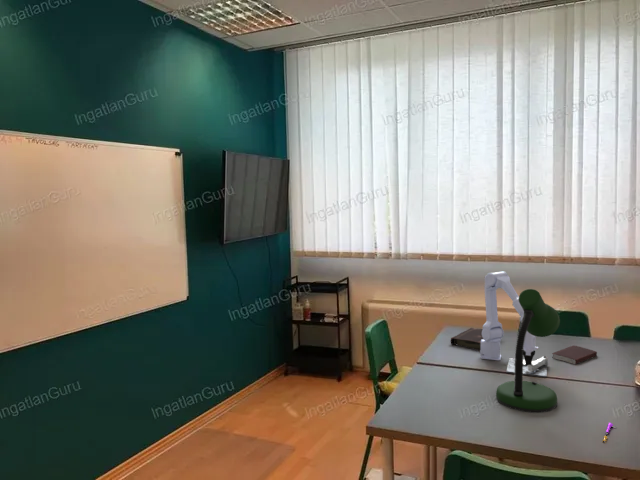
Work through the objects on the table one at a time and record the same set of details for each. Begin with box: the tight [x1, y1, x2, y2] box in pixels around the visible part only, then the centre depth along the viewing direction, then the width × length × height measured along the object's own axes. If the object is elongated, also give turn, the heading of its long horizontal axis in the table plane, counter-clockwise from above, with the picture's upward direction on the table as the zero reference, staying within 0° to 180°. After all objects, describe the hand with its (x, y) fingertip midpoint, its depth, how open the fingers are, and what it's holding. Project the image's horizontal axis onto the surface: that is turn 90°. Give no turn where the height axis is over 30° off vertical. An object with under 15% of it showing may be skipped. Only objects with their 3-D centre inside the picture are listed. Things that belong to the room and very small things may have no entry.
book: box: [552, 344, 598, 365], centre depth 256 cm, size 12×19×3 cm, turn 124°
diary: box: [450, 327, 483, 351], centre depth 284 cm, size 19×25×5 cm
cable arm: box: [528, 355, 549, 371], centre depth 240 cm, size 17×3×3 cm, turn 134°
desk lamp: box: [495, 288, 561, 414], centre depth 207 cm, size 31×23×45 cm
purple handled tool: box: [602, 422, 614, 442], centre depth 178 cm, size 3×1×16 cm
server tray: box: [506, 357, 548, 378], centre depth 243 cm, size 17×20×2 cm
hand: (528, 365), depth 238 cm, fingers closed
